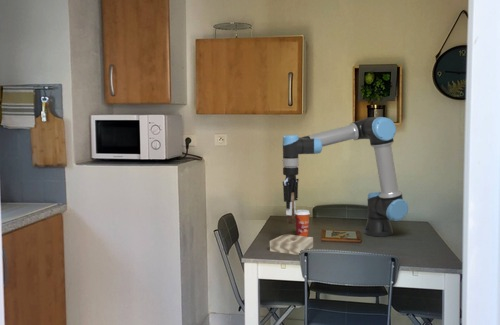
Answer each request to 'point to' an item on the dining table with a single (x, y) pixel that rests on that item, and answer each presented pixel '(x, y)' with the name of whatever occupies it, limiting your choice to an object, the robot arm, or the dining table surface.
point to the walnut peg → (291, 217)
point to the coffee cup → (302, 222)
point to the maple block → (291, 244)
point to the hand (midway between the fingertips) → (290, 214)
